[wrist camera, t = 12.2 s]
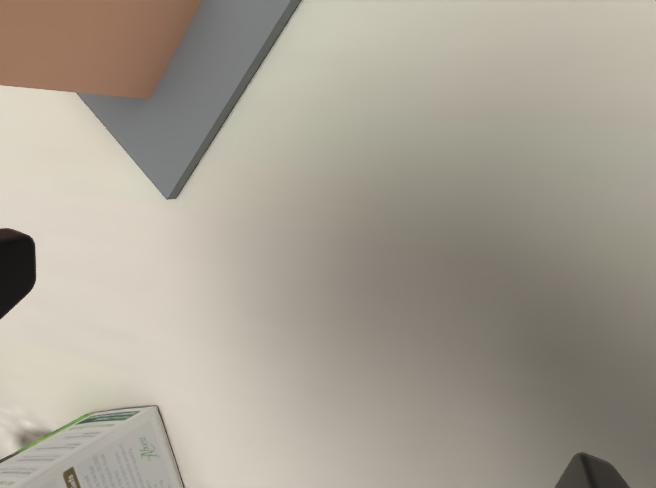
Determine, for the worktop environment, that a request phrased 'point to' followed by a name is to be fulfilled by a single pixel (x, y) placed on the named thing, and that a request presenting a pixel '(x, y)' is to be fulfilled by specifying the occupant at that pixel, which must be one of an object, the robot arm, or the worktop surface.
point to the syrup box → (97, 454)
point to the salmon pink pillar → (91, 44)
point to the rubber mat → (194, 89)
